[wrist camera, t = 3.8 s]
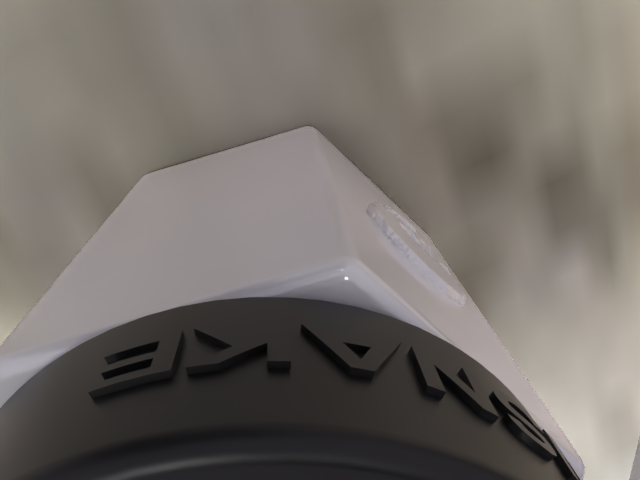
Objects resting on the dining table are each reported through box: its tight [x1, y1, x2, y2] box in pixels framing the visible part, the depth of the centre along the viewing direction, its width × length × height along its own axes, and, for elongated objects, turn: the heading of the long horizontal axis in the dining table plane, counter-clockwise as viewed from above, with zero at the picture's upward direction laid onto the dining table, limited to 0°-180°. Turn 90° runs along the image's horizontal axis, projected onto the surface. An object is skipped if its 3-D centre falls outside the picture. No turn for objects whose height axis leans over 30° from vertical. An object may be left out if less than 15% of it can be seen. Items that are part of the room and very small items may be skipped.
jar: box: [0, 126, 585, 480], centre depth 11 cm, size 9×8×12 cm
